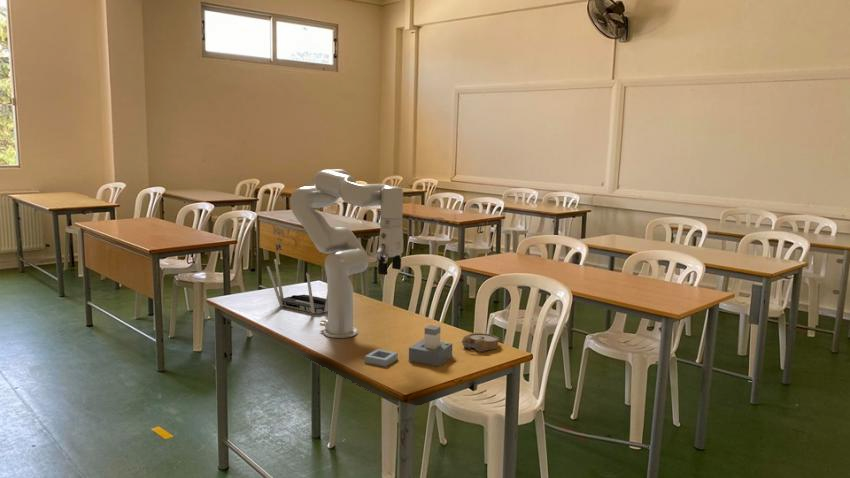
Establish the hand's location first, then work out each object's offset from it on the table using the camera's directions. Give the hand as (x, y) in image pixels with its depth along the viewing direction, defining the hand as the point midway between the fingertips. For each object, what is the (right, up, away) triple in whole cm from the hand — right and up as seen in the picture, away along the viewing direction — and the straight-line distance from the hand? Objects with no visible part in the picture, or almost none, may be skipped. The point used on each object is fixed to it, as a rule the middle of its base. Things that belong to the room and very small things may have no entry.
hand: (389, 271), depth 218 cm
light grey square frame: (-2, -29, -8) cm, 30 cm away
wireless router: (-39, -19, +53) cm, 69 cm away
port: (+14, -29, -5) cm, 33 cm away
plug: (+15, -28, -5) cm, 32 cm away
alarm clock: (+32, -28, +8) cm, 43 cm away
